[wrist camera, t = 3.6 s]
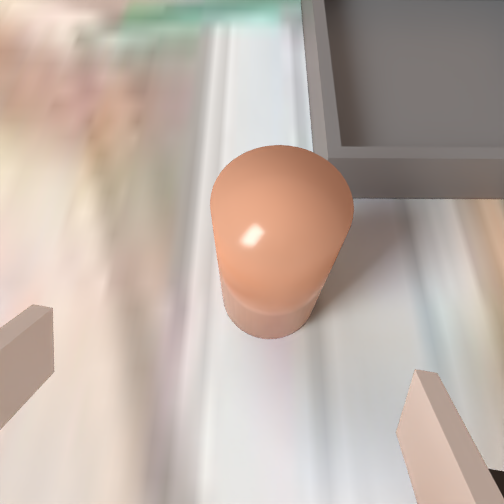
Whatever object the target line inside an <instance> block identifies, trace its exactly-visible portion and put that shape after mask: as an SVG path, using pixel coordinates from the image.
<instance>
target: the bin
mask: <svg viewBox="0 0 504 504" xmlns="http://www.w3.org/2000/svg"><path fill="white" fill-rule="evenodd" d="M301 10H302V22H303V34H304V46H305V58H306V70H307V81H308V93H309V105H310V117H311V129H312V141H313V153H315V154H317V155H319V156H321V157H323V158H324V159H326V160H327V161H329V162H330V163H331V164H332V165H333V166H334V167H335V168H336V169H337V170H338V171H339V172H340V173H341V174H342V176H343V177H344V179H345V180H346V182H347V184H348V186H349V188H350V191H351V194H352V198H414V199H504V0H301Z"/></svg>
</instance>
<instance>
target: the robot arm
mask: <svg viewBox="0 0 504 504" xmlns="http://www.w3.org/2000/svg"><path fill="white" fill-rule="evenodd" d="M53 373H54V340H53V308H50V307H44V306H39V305H31V306H30V307H28V308H27V309H26V310H24V311H23V312H22V313H20V314H19V315H18V316H16V317H15V318H13V319H12V320H11V321H9V322H8V323H7V324H5V325H4V326H3V327H1V328H0V430H1V429H2V427H3V426H4V425H5V424H6V423H7V422H8V421H9V420H10V419H11V418H12V417H13V416H14V415H15V413H16V412H17V411H18V410H19V409H20V408H21V407H22V406H23V405H24V404H25V403H26V402H27V401H28V399H29V398H30V397H31V396H32V395H33V394H34V393H35V392H36V391H37V390H38V389H39V388H40V387H41V386H42V384H43V383H44V382H45V381H46V380H47V379H48V378H49V377H50V376H51V375H52V374H53ZM396 434H397V438H398V441H399V444H400V447H401V451H402V454H403V457H404V460H405V464H406V467H407V470H408V474H409V477H410V480H411V483H412V487H413V490H414V493H415V496H416V500H417V503H418V504H504V472H503V471H498V470H492V469H488V468H487V466H486V464H485V462H484V460H483V458H482V456H481V455H480V453H479V451H478V449H477V447H476V445H475V443H474V441H473V440H472V438H471V436H470V434H469V432H468V430H467V428H466V426H465V424H464V423H463V421H462V419H461V417H460V415H459V413H458V411H457V409H456V408H455V406H454V404H453V402H452V400H451V398H450V396H449V394H448V392H447V391H446V389H445V387H444V385H443V383H442V381H441V379H440V377H439V376H438V374H437V373H434V372H428V371H422V370H416V369H415V371H414V374H413V378H412V381H411V384H410V387H409V391H408V394H407V397H406V401H405V404H404V407H403V411H402V414H401V417H400V421H399V424H398V427H397V431H396Z"/></svg>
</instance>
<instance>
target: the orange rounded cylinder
mask: <svg viewBox="0 0 504 504" xmlns="http://www.w3.org/2000/svg"><path fill="white" fill-rule="evenodd" d="M210 209H211V217H212V224H213V231H214V238H215V245H216V252H217V260H218V267H219V274H220V281H221V288H222V296H223V302H224V306H225V309H226V312H227V314H228V316H229V317H230V319H231V320H232V322H233V323H234V324H235V325H236V326H237V327H238V328H240V329H241V330H242V331H244V332H245V333H247V334H249V335H251V336H254V337H257V338H262V339H277V338H282V337H285V336H288V335H290V334H292V333H294V332H295V331H297V330H298V329H300V328H301V327H302V326H303V325H304V324H305V322H306V321H307V320H308V318H309V317H310V315H311V312H312V310H313V308H314V306H315V304H316V301H317V299H318V297H319V295H320V293H321V290H322V288H323V286H324V284H325V282H326V279H327V277H328V275H329V273H330V271H331V269H332V266H333V264H334V262H335V260H336V258H337V255H338V253H339V251H340V249H341V247H342V244H343V242H344V240H345V238H346V236H347V233H348V231H349V229H350V227H351V223H352V220H353V212H354V206H353V198H352V194H351V191H350V188H349V186H348V184H347V182H346V180H345V179H344V177H343V176H342V174H341V173H340V172H339V171H338V170H337V169H336V168H335V167H334V166H333V165H332V164H331V163H330V162H329V161H327V160H326V159H324V158H323V157H321V156H319V155H317V154H315V153H313V152H311V151H308V150H306V149H302V148H298V147H293V146H284V145H274V146H265V147H260V148H256V149H253V150H251V151H248V152H246V153H244V154H242V155H240V156H238V157H237V158H235V159H234V160H232V161H231V162H230V163H229V164H228V165H227V166H226V167H225V168H224V169H223V170H222V172H221V173H220V174H219V176H218V178H217V179H216V181H215V184H214V186H213V189H212V193H211V200H210Z"/></svg>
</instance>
